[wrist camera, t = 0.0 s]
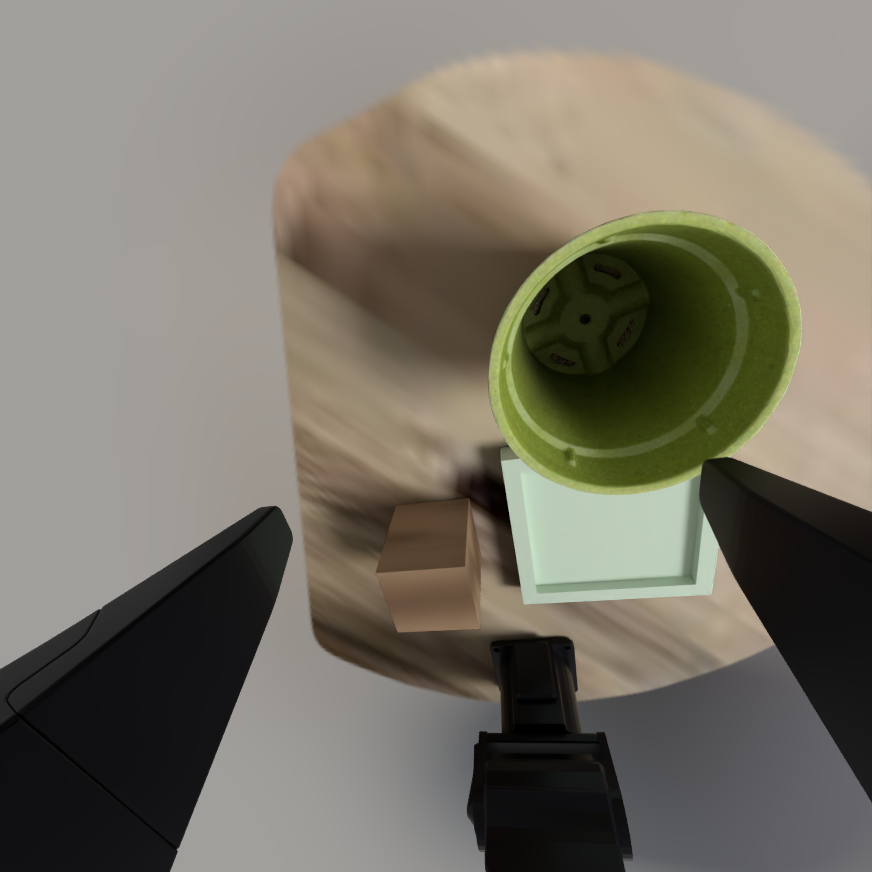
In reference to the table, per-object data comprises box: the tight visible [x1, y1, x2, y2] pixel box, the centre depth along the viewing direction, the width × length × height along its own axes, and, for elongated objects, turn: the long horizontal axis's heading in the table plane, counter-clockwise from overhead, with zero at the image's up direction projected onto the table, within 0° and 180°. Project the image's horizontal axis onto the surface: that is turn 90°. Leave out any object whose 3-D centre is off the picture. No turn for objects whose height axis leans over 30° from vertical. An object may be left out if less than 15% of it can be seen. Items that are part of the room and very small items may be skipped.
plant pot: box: [488, 211, 802, 495], centre depth 17 cm, size 9×9×9 cm
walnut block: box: [376, 498, 481, 632], centre depth 26 cm, size 5×5×6 cm
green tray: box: [500, 447, 731, 604], centre depth 26 cm, size 12×12×2 cm
